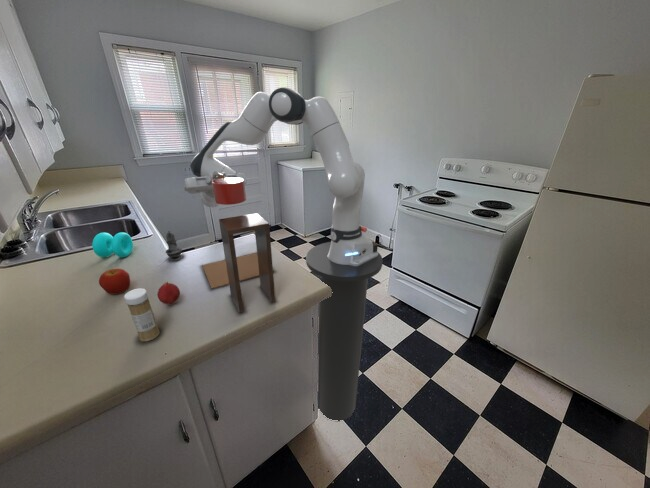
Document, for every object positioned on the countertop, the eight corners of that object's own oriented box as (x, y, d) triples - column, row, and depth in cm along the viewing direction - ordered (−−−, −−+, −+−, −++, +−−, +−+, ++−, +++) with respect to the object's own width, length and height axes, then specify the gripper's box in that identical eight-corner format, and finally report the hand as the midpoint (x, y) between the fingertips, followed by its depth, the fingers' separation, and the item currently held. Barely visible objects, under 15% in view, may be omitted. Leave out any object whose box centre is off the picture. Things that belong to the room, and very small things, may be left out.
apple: (110, 301, 83) (102, 279, 79) (99, 293, 86) (90, 272, 83) (137, 289, 89) (130, 268, 85) (126, 282, 92) (119, 262, 89)
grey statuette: (185, 254, 112) (178, 227, 107) (182, 260, 107) (175, 232, 102) (169, 255, 110) (162, 228, 105) (165, 262, 105) (158, 234, 100)
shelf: (263, 286, 91) (257, 213, 81) (275, 301, 84) (269, 223, 73) (231, 295, 86) (218, 219, 75) (239, 313, 78) (227, 230, 68)
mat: (257, 253, 114) (257, 252, 114) (274, 272, 100) (274, 271, 100) (202, 266, 103) (202, 265, 103) (211, 289, 89) (211, 288, 89)
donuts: (112, 250, 114) (104, 228, 110) (137, 250, 114) (130, 228, 110) (95, 262, 105) (86, 238, 101) (122, 261, 105) (114, 238, 101)
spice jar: (160, 327, 73) (146, 285, 67) (159, 338, 69) (145, 295, 63) (140, 333, 71) (124, 290, 65) (138, 345, 67) (122, 300, 61)
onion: (156, 308, 80) (149, 286, 76) (169, 297, 85) (163, 275, 82) (174, 310, 79) (168, 288, 76) (186, 299, 84) (180, 277, 81)
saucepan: (231, 186, 97) (228, 169, 95) (250, 201, 81) (247, 181, 78) (204, 189, 93) (201, 171, 90) (218, 206, 76) (215, 184, 74)
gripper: (182, 183, 96) (182, 168, 84) (239, 177, 106) (246, 164, 94) (186, 200, 96) (186, 187, 84) (243, 193, 106) (251, 181, 94)
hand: (219, 175), depth 89 cm, fingers closed on saucepan, 2 cm apart
